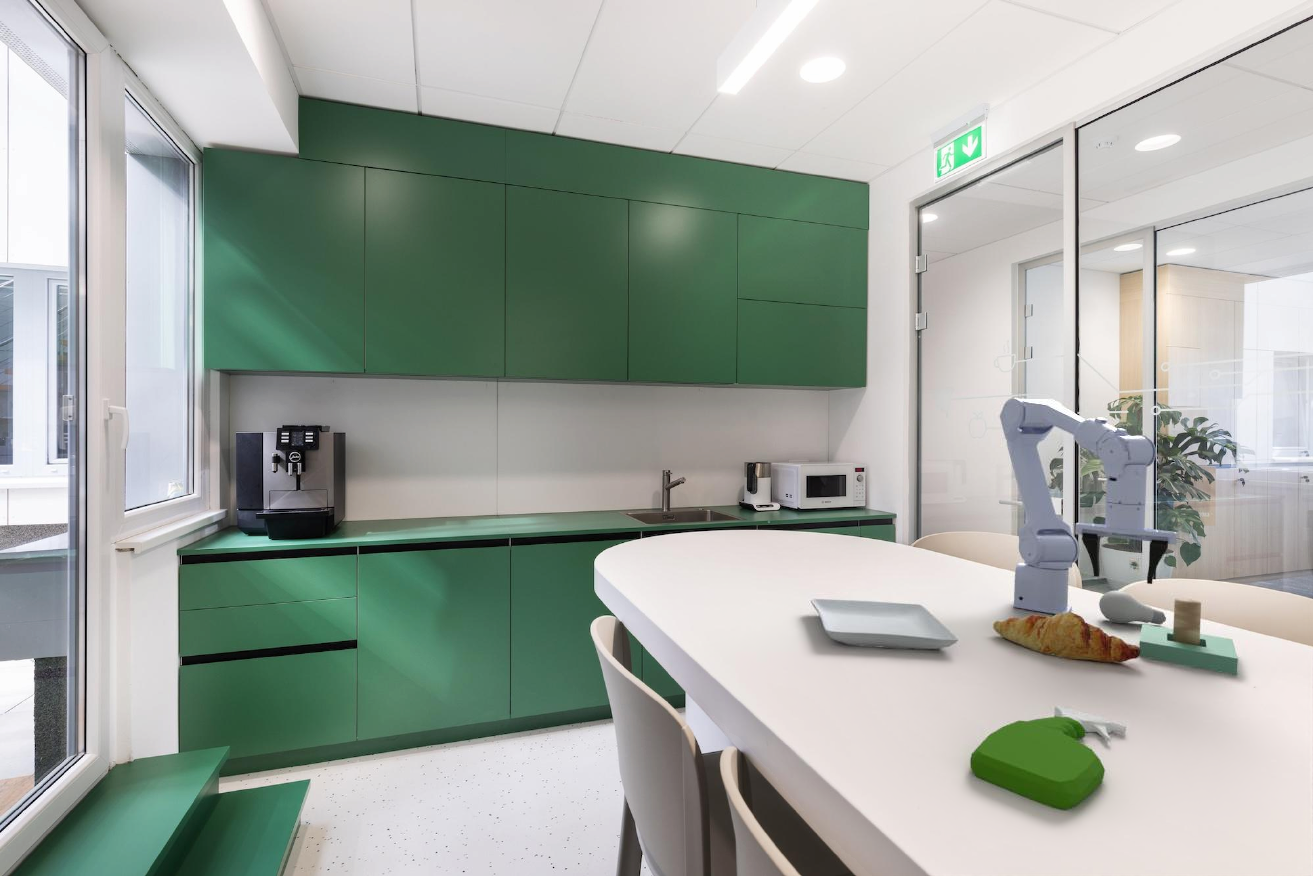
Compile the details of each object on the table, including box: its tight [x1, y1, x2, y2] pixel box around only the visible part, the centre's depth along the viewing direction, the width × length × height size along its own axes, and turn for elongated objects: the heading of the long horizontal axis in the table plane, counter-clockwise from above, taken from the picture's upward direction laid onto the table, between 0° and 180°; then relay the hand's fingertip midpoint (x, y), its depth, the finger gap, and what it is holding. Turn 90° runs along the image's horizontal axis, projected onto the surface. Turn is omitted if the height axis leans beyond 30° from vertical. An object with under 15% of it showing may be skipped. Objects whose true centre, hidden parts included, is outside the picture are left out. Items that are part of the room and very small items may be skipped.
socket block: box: [1138, 623, 1239, 675], centre depth 107 cm, size 12×12×2 cm
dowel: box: [1172, 597, 1202, 646], centre depth 107 cm, size 3×3×9 cm
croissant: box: [992, 611, 1141, 663], centre depth 108 cm, size 21×10×8 cm, turn 48°
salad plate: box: [810, 598, 959, 650], centre depth 116 cm, size 21×21×3 cm
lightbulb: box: [1098, 590, 1167, 626], centre depth 125 cm, size 6×6×11 cm
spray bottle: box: [969, 705, 1127, 811], centre depth 74 cm, size 3×11×24 cm
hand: (1122, 579), depth 116 cm, fingers open, 7 cm apart
